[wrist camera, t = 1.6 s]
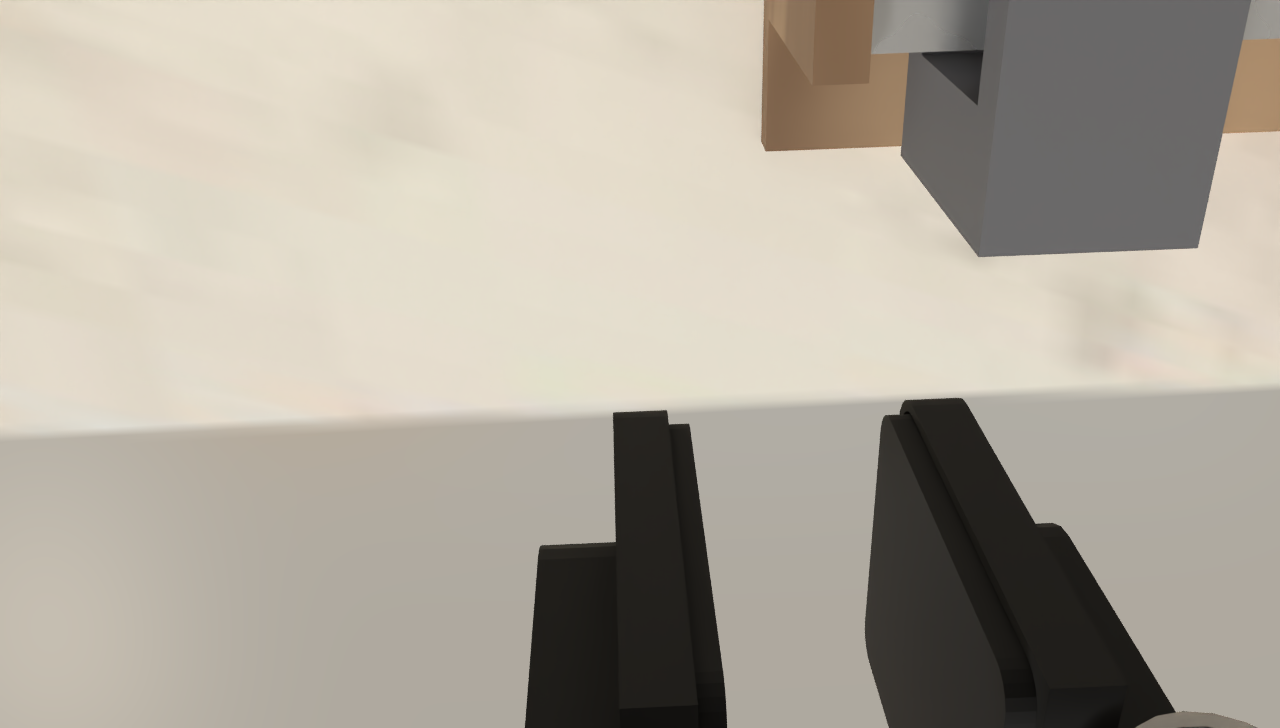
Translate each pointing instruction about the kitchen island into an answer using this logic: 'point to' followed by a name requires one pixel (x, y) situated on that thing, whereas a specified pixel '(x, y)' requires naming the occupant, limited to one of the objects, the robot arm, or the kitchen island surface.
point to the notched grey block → (1077, 123)
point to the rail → (957, 17)
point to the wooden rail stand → (876, 83)
